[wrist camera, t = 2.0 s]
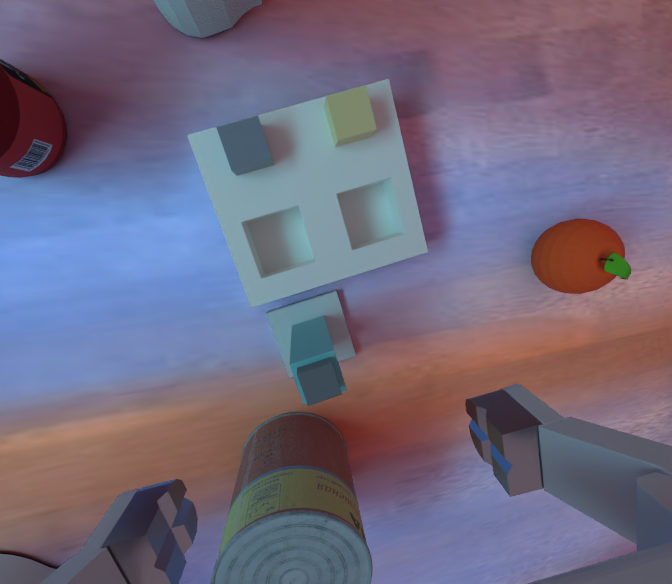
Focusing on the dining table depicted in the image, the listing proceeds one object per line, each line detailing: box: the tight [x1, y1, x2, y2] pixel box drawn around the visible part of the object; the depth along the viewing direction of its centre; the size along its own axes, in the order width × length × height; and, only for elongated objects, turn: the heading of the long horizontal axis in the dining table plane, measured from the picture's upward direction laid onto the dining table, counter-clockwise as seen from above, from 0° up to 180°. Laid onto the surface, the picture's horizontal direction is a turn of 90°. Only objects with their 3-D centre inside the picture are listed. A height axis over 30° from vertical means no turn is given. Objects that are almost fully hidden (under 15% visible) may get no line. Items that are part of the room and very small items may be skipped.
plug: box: [289, 316, 347, 406], centre depth 26 cm, size 3×3×10 cm
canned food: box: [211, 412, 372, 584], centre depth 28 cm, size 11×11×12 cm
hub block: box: [187, 79, 428, 308], centre depth 26 cm, size 14×16×6 cm
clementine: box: [531, 219, 631, 294], centre depth 29 cm, size 8×7×7 cm
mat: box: [266, 290, 356, 378], centre depth 31 cm, size 7×7×1 cm
